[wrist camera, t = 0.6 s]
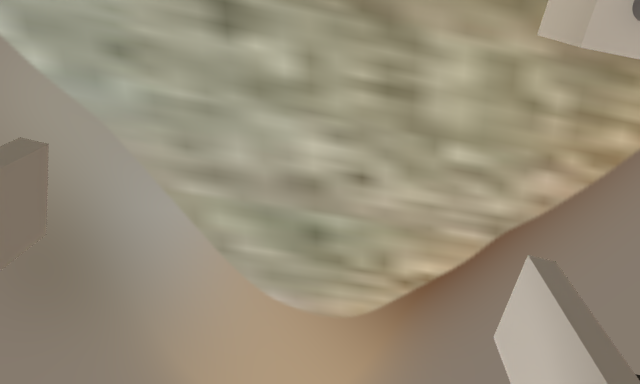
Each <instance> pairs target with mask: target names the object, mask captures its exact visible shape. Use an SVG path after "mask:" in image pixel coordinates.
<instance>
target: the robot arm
mask: <svg viewBox="0 0 640 384" xmlns="http://www.w3.org/2000/svg"><path fill="white" fill-rule="evenodd" d="M48 145H49V144H47V143H42V142H38V141H34V140H29V139H25V138H18V139H16V140H13V141H11V142H9V143H7V144H4V145H2V146H0V271H1V270H2V269H3V268H5V267H6V266H7V265H8V264H10V263H11V262H12V261H14V260H15V259H16V258H17V257H19V256H20V255H21V254H22V253H24V252H25V251H26V250H28V249H29V248H30V247H31V246H33V245H34V244H35V243H36V242H38V241H39V240H40V239H41V238H43V237H44V236H45V235H46V227H47V226H46V225H47V186H48V148H49V146H48ZM494 340H495V343H496V345H497V348H498V351H499V353H500V356H501V359H502V361H503V364H504V366H505V369H506V372H507V375H508V377H509V380H510V383H511V384H640V375H636V374H635V373H634V372H633V370H632V369H631V368H630V366H629V365H628V363H627V362H626V361H625V359H624V358H623V356H622V355H621V354H620V352H619V351H618V349H617V348H616V346H615V345H614V343H613V342H612V341H611V339H610V338H609V336H608V335H607V334H606V332H605V331H604V329H603V328H602V326H601V325H600V324H599V322H598V321H597V320H596V318H595V317H594V315H593V314H592V313H591V311H590V309H589V308H588V307H587V305H586V304H585V302H584V301H583V299H582V298H581V297H580V295H579V294H578V292H577V291H576V290H575V288H574V287H573V285H572V284H571V283H570V281H569V280H568V278H567V277H566V275H565V274H564V272H563V271H562V270H561V268H560V267H559V265H558V264H557V263H556V261H551V260H547V259H543V258H539V257H534V256H530V255H528V256H527V259H526V261H525V264H524V266H523V268H522V271H521V273H520V275H519V278H518V280H517V283H516V285H515V287H514V290H513V292H512V295H511V297H510V299H509V302H508V304H507V306H506V309H505V311H504V314H503V316H502V318H501V321H500V324H499V326H498V328H497V331H496V333H495V335H494Z"/></svg>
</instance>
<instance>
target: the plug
mask: <svg viewBox="0 0 640 384" xmlns="http://www.w3.org/2000/svg"><path fill="white" fill-rule="evenodd" d="M537 35H539V36H542V37H546V38H549V39H553V40H556V41H560V42H563V43H566V44H570V45H573V46H577V47H580V48H585V49H590V50H595V51H600V52H605V53H610V54H615V55H620V56H625V57H630V58H635V59H640V0H548V3H547V6H546V10H545V13H544V16H543V19H542V22H541V25H540V28H539V31H538V34H537Z"/></svg>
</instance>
